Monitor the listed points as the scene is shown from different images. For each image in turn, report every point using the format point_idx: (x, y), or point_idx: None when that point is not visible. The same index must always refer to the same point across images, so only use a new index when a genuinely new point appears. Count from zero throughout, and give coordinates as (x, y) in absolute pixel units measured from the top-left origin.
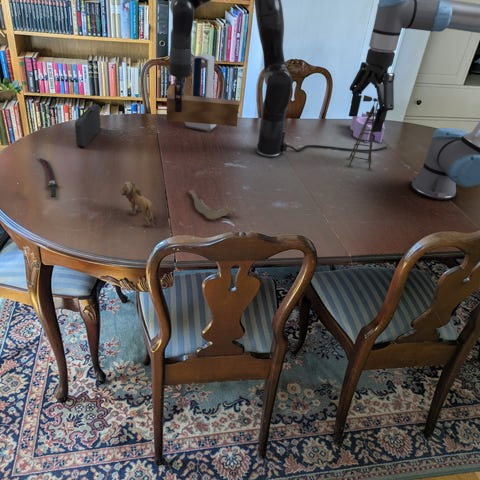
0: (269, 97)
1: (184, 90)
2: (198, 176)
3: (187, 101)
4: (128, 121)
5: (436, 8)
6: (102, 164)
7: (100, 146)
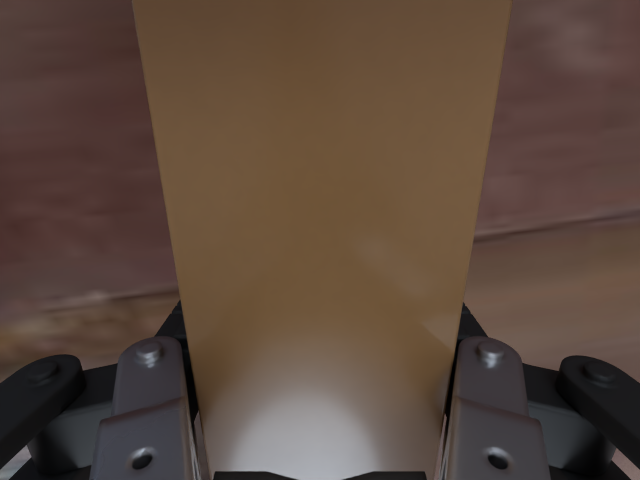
0: None
1: (188, 419)
2: (614, 53)
3: (458, 261)
4: None
5: None
6: None
7: None
